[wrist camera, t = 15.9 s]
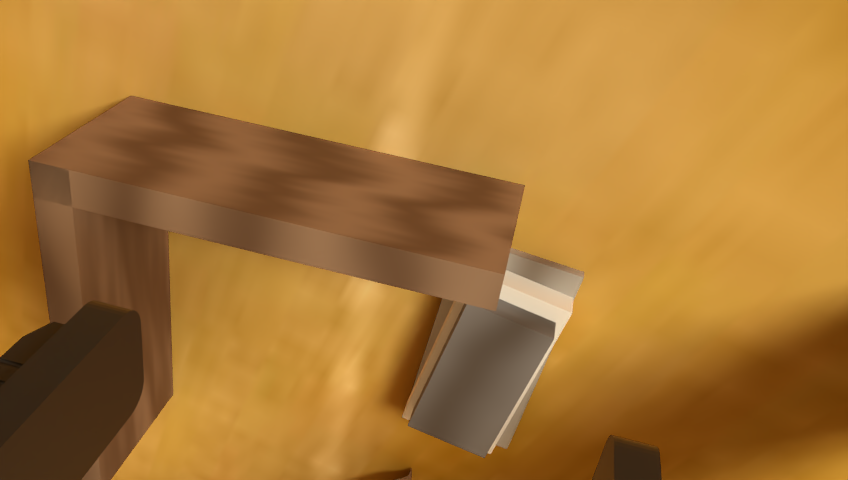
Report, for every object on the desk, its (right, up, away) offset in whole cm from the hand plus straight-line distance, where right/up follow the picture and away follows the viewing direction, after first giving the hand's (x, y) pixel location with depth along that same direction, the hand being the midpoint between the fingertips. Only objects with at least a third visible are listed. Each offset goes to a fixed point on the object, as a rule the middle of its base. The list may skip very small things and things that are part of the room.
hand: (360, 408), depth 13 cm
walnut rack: (-7, -1, +35) cm, 36 cm away
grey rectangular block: (+4, -5, +32) cm, 33 cm away
